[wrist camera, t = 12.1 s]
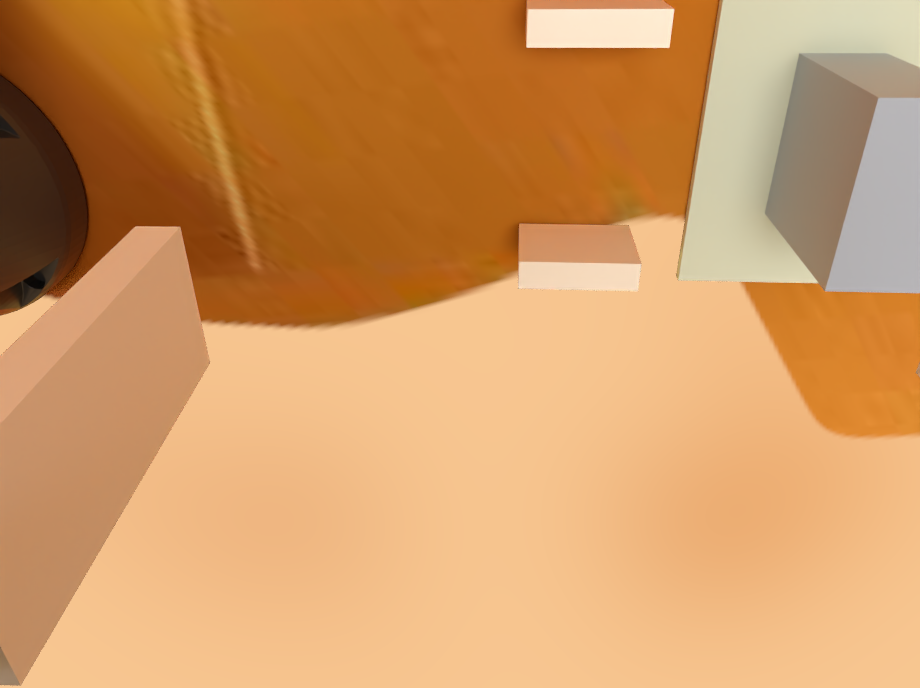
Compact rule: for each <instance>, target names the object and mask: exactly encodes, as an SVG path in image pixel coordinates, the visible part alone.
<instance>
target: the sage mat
mask: <svg viewBox="0 0 920 688" xmlns="http://www.w3.org/2000/svg"><path fill="white" fill-rule="evenodd" d="M799 53H887V54H889V55H892V56H894V57H896V58H899V59H901V60H903V61H906V62H908V63H910V64H913V65H915V66H917V67H920V0H720V1H719V7H718V14H717V20H716V26H715V33H714V39H713V45H712V52H711V58H710V65H709V71H708V77H707V84H706V90H705V96H704V103H703V109H702V115H701V122H700V128H699V134H698V141H697V147H696V154H695V160H694V166H693V173H692V179H691V185H690V192H689V198H688V204H687V211H686V217H685V224H684V230H683V236H682V243H681V249H680V255H679V262H678V268H677V274H676V276H677V278H678V280H686V281H688V280H689V281H735V282H783V283H818V281H817V280H816V279H815V278H814V276H813V275H812V274H811V272H810V271H809V270H808V269H807V267H806V266H805V265H804V263H803V262H802V261H801V260H800V258H799V257H798V256H797V254H796V253H795V252H794V251H793V249H792V248H791V247H790V245H789V244H788V243H787V241H786V240H785V239H784V238H783V236H782V235H781V234H780V232H779V231H778V230H777V229H776V227H775V226H774V225H773V223H772V222H771V221H770V220H769V218H768V217H767V216H766V214H765V210H766V205H767V201H768V196H769V191H770V187H771V182H772V178H773V173H774V168H775V164H776V159H777V154H778V150H779V145H780V141H781V136H782V131H783V127H784V122H785V117H786V113H787V108H788V103H789V99H790V94H791V90H792V85H793V80H794V76H795V71H796V66H797V62H798V57H799Z"/></svg>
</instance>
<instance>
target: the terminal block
mask: <svg viewBox="0 0 920 688" xmlns="http://www.w3.org/2000/svg"><path fill="white" fill-rule="evenodd" d="M765 214H766V216H767V217H768V218H769V220H770V221H771V222H772V223H773V225H774V226H775V227H776V229H777V230H778V231H779V232H780V234H781V235H782V236H783V238H784V239H785V240H786V241H787V243H788V244H789V245H790V247H791V248H792V249H793V251H794V252H795V253H796V254H797V256H798V257H799V258H800V260H801V261H802V262H803V263H804V265H805V266H806V267H807V269H808V270H809V271H810V272H811V274H812V275H813V276H814V278H815V279H816V280H817V281H818V283H819V284H820V285H821V287H822V288H823V289H824V291H840V292H887V293H920V67H917V66H915V65H913V64H910V63H908V62H906V61H903V60H901V59H899V58H896V57H894V56H892V55H889V54H887V53H799V57H798V62H797V66H796V71H795V76H794V80H793V85H792V90H791V94H790V99H789V103H788V108H787V113H786V117H785V122H784V127H783V131H782V136H781V141H780V145H779V150H778V154H777V159H776V164H775V168H774V173H773V178H772V182H771V187H770V191H769V196H768V201H767V205H766V210H765Z"/></svg>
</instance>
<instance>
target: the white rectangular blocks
mask: <svg viewBox="0 0 920 688" xmlns="http://www.w3.org/2000/svg"><path fill="white" fill-rule="evenodd" d="M673 15H674V8H672V7H671V6H670V5H668V4H667V3H666V2H664V1H663V0H527V1H526V48H669V47H670V39H671V31H672V23H673ZM640 272H641V261H640V258H639V255H638V252H637V249H636V246H635V243H634V240H633V237H632V234H631V231H630V228H629V225H580V224H519V243H518V289H559V290H562V289H563V290H605V291H638V287H639V278H640Z"/></svg>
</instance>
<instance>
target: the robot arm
mask: <svg viewBox="0 0 920 688" xmlns="http://www.w3.org/2000/svg"><path fill="white" fill-rule="evenodd" d="M86 232H87V205H86V199H85V193H84V189H83V185H82V182H81V179H80V176H79V173H78V171H77V168H76V166H75V163H74V161H73V159H72V157H71V155H70V153H69V151H68V149H67V147H66V146H65V144H64V142H63V141H62V139H61V138H60V136H59V134H58V133H57V132H56V130H55V129H54V127H53V126H52V125H51V123H50V122H49V121H48V120H47V118H46V117H45V116H44V115H43V114H42V113H41V111H40V110H39V109H38V108H37V107H36V106H35V105H34V104H33V103H32V102H31V101H30V100H29V99H28V98H27V97H26V96H25V95H24V94H23V93H22V92H21V91H19V90H18V89H17V88H16V87H15V86H13V85H12V84H11V83H10V82H8V81H7V80H6V79H4V78H3V77H2V76H0V315H4V314H8V313H11V312H14V311H17V310H19V309H22V308H23V307H26V306H28V305H30V304H31V303H33V302H35V301H36V300H38V299H40V298H41V297H42V296H44V295H45V294H46V293H47V292H48V291H50V290H51V289H52V288H53V287H54V286H56V285H57V284H58V283H59V282H60V281H61V280H63V279H64V278H65V277H66V276H67V275H68V274H69V272H70V271H71V270H72V268H73V267H74V266H75V264H76V262H77V261H78V259H79V256H80V254H81V252H82V249H83V246H84V242H85V238H86ZM209 364H210V361H209V356H208V352H207V347H206V343H205V338H204V333H203V329H202V324H201V320H200V315H199V310H198V306H197V301H196V297H195V292H194V288H193V283H192V278H191V274H190V269H189V265H188V260H187V256H186V251H185V246H184V242H183V237H182V233H181V228H180V227H155V226H135V227H134V228H133V229H132V230H131V231H130V232H129V233H128V234H127V235H126V236H125V237H124V238H123V239H122V240H121V241H120V242H119V243H118V244H117V245H116V246H115V247H114V248H112V249H111V250H110V251H109V252H108V253H107V254H106V255H105V256H104V257H103V258H102V259H101V260H100V261H99V262H98V263H97V264H96V265H95V266H94V267H93V268H92V269H91V270H90V271H88V272H87V273H86V274H85V275H84V276H83V277H82V278H81V279H80V280H79V281H78V282H77V283H76V284H75V285H74V286H73V287H72V288H71V289H70V290H69V291H68V292H67V293H65V294H64V295H63V296H62V297H61V298H60V299H59V300H58V301H57V302H56V303H55V304H54V305H53V306H52V307H51V308H50V309H49V310H48V311H47V312H46V313H45V314H44V315H43V316H41V318H39V319H38V320H37V321H36V322H35V323H34V324H33V325H32V326H31V327H30V328H29V329H28V330H27V331H26V332H25V333H24V334H23V335H22V336H21V337H20V338H18V339H17V340H16V341H15V342H14V343H13V344H12V345H11V346H10V347H9V348H8V349H7V350H6V351H5V352H4V353H3V354H2V355H1V356H0V685H21V684H22V683H23V681H24V679H25V677H26V676H27V674H28V672H29V670H30V669H31V667H32V666H33V664H34V662H35V660H36V659H37V657H38V655H39V654H40V652H41V650H42V648H43V647H44V645H45V643H46V642H47V640H48V638H49V637H50V635H51V633H52V631H53V630H54V628H55V626H56V625H57V623H58V621H59V619H60V618H61V616H62V614H63V613H64V611H65V609H66V607H67V606H68V604H69V602H70V601H71V599H72V597H73V596H74V594H75V592H76V590H77V589H78V587H79V585H80V584H81V582H82V580H83V579H84V577H85V575H86V573H87V572H88V570H89V568H90V566H91V565H92V563H93V561H94V560H95V558H96V556H97V555H98V553H99V551H100V549H101V548H102V546H103V544H104V543H105V541H106V539H107V538H108V536H109V534H110V532H111V531H112V529H113V527H114V526H115V524H116V522H117V521H118V519H119V517H120V515H121V514H122V512H123V510H124V509H125V507H126V505H127V503H128V502H129V500H130V498H131V497H132V495H133V493H134V492H135V490H136V488H137V486H138V485H139V483H140V481H141V480H142V478H143V476H144V474H145V473H146V471H147V469H148V468H149V466H150V464H151V463H152V461H153V459H154V457H155V456H156V454H157V452H158V451H159V449H160V447H161V445H162V444H163V442H164V440H165V439H166V437H167V435H168V434H169V432H170V430H171V428H172V427H173V425H174V423H175V422H176V420H177V418H178V416H179V415H180V413H181V411H182V410H183V408H184V406H185V405H186V403H187V401H188V399H189V397H190V396H191V394H192V393H193V391H194V389H195V388H196V386H197V384H198V382H199V381H200V379H201V377H202V376H203V374H204V372H205V370H206V369H207V367H208V365H209ZM916 373H917V375H918V376H919V377H920V363H919V366H918V368H917V371H916Z"/></svg>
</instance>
